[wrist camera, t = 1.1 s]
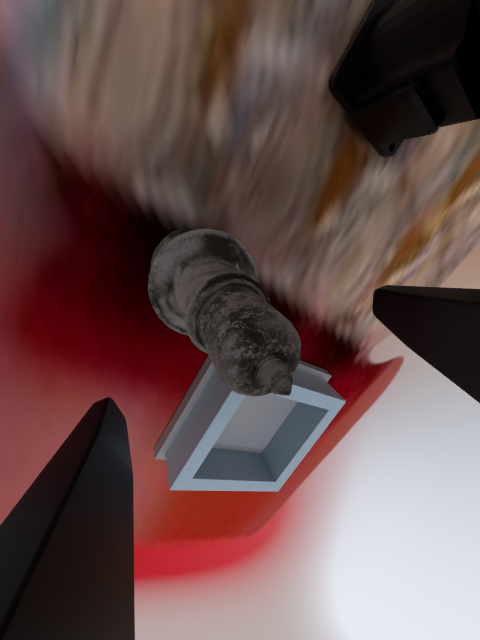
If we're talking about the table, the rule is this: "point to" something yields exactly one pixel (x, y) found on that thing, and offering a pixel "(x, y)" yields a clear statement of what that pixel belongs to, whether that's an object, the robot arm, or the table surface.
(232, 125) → the table surface
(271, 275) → the table surface
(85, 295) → the table surface
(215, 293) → the grey stone tall figure
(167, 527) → the table surface
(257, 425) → the holder
